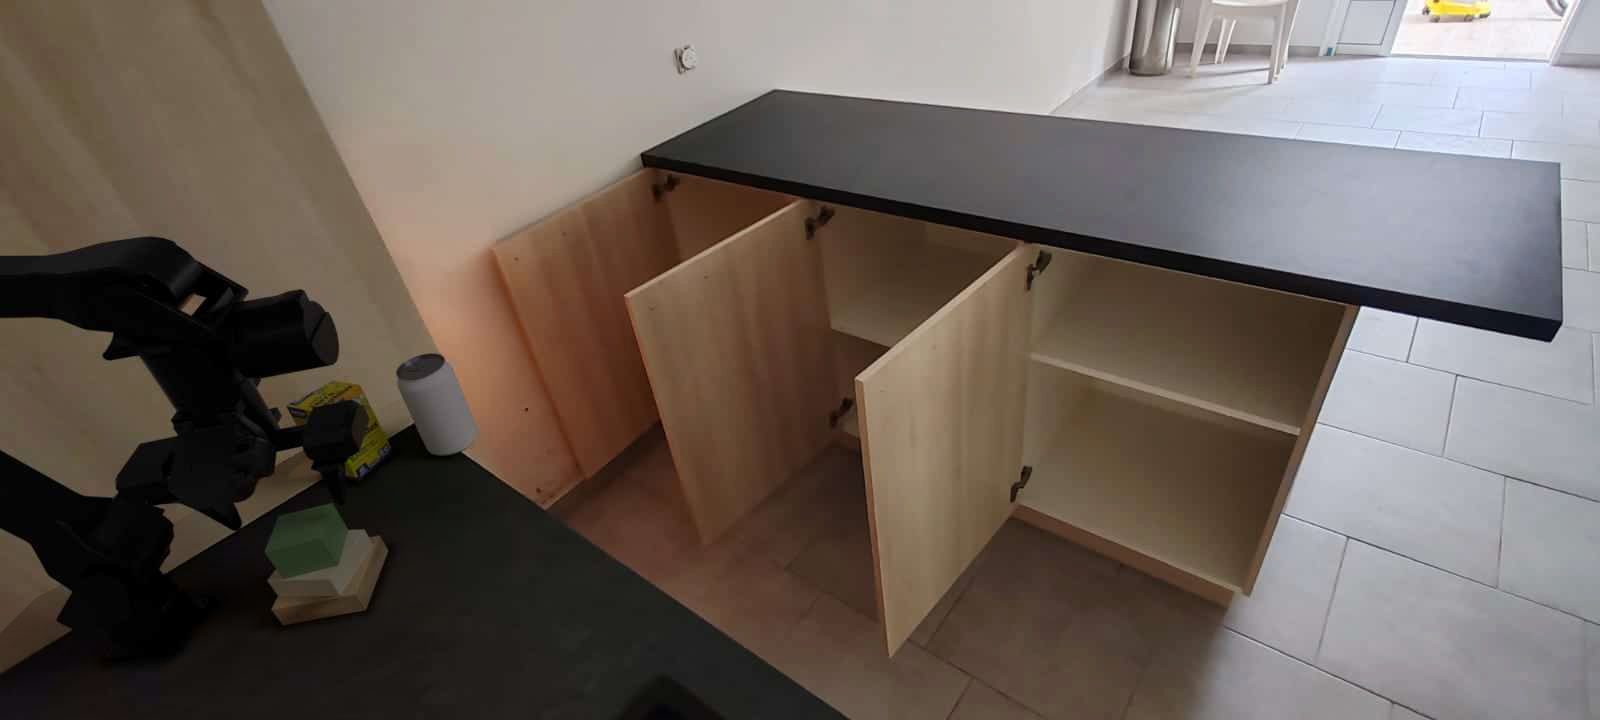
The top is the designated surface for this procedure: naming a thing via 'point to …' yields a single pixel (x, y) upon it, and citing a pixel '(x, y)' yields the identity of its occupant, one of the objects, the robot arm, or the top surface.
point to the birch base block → (347, 602)
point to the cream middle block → (327, 571)
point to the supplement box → (374, 439)
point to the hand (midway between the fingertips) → (291, 515)
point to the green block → (307, 541)
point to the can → (436, 404)
